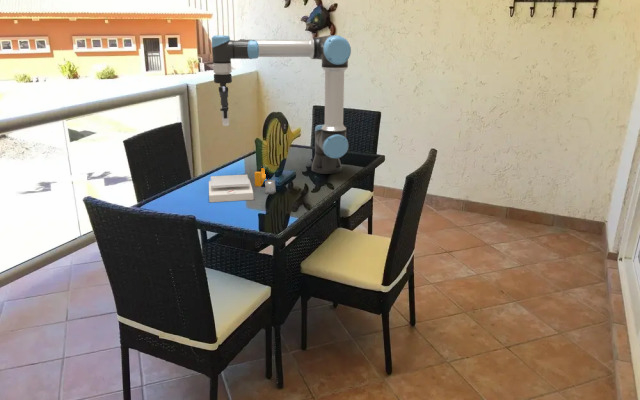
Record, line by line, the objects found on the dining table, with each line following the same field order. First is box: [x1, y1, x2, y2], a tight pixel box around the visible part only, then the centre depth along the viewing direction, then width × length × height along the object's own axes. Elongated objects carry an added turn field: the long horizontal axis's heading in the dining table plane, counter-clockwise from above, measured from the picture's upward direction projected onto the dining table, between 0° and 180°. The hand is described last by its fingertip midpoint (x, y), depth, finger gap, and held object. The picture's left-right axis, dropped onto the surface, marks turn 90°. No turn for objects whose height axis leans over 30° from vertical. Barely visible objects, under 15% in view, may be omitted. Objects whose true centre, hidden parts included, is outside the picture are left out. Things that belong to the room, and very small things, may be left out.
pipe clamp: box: [254, 168, 266, 187], centre depth 228 cm, size 12×4×6 cm, turn 169°
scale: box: [208, 174, 254, 203], centre depth 213 cm, size 18×20×6 cm
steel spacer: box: [264, 179, 276, 195], centre depth 214 cm, size 4×4×5 cm
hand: (225, 122), depth 218 cm, fingers open, 13 cm apart
